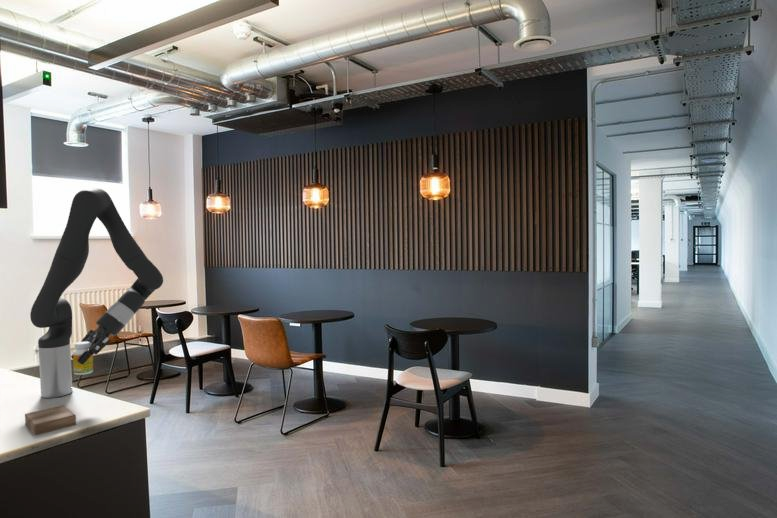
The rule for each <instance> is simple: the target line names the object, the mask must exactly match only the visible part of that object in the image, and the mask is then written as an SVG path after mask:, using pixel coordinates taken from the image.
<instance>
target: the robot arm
mask: <svg viewBox="0 0 777 518" xmlns="http://www.w3.org/2000/svg"><path fill="white" fill-rule="evenodd" d="M96 219H98V220H99V221H100V222H101V224H102V225H103V226H104V227H105V229H106V231H107V233H108V235H109V237H110V241H111V245H112V247H113V248H114V251H115V252H116V254H117V256H118V257H119V259H120V260H121V261H122V262H123V264H124V265H125V267H127V269H129V270H130V271H132V273H134V275H135V276H136V277H137V279H136V280H135V281H134V282H133V283H132V284H131V286H130V287H129V288H128V289H127V290H126V291H125V292H124V293H123V294H122V295H121V296H120V297H119V298H118V299H117V301H115V302H114V303H113V304H112V305H110V307H108V309H107V310H106V311H105V312H104V313H103V314H102V315H101V316H100V317H99V318H98V319H97V320H96V322H95V323H96V325H97V326H98V327H97V328H96V329H95V330H93V329H90V330H89V331H88V332H87V333H86V334H85V336H84V337H83V338H82V339H81V341H80V342H89V347H88V348H87V349H86V351H87V352H86V351H85V352H84V353H83V354H82V355H81V356H80V357H79V358H78V359H77V362H79V363H80V364H84V363H85V362H86V361H87V360H88V359H89V357H90V356H91V355H93V356H94V355H98V354H99V353H100V352H101V351H102V350H103V349H104V348H105V347H106V346H107V345H108V344H109V343H110V342H111V338H109V337H110V336H111V335H112V337H116V336H117V335H119V333H120V332H121V331H122V330H123V329H124V328H125V327H126V325H127V324H128V323H129V322H130V321H131V320H132V318H133V317H134V316H135V314H136V313H137V312H138V311H139V310H140V309H141V308H142V307H143V306H144V304H145V302H146V300H147V299H148V298H149V297H150V296H151V295H152V294H153V293H154V292H155V291H156V290H159V289H160V288H161V287H162V286H163V283H164V277H163V275H162V273H161V271H160V270H159V269H158V267H156V265H155V264H154V263H153V262H152V261H151V260H150V259H149V258H148V257H147V255H146V254H145V253H144V251H143V250H142V248H141V247H140V246H139V244H138V243H137V241H136V240H135V239H134V236H133V235H132V234H131V233H130V231H129V229H128V228H127V226H126V224H125V223H124V220H123V219H122V217H121V215H120V213H119V211H118V210H117V207H116V205H115V203H114V201H113V199H112V198H111V196H110V195H109V193H108V192H106V190H104V189H102V188H98V187H93V188H87V189H83V190H79V191H78V192H77V193H76V194H75V195H74V196H73V199H72V202H71V206H70V210H69V215H68V218H67V223H66V225H65V228H64V230H63V233H62V235H61V238H60V241H59V243H58V246H57V248H56V251H55V253H54V256H53V259H52V262H51V265H50V267H49V270H48V273H47V275H46V277H45V279H44V283H43V285H42V286H41V288H40V290H39V293H38V295H37V297H36V299H35V300H34V302H33V305H32V306H31V309H30V313H29V314H30V321H31V323H32V325H33V326H34V327H37V328H39V329H45V328H48V329H47V331H46V333H45V334H44V335H41V337H39V339H38V340H37V346H38V361H39V362H38V364H39V365H38V366H39V380H40V381H39V382H40V397H41V398H45V399H49V398H51V399H52V398H59V397H64V396H67V395H69V394H71V393H73V377H72V373H73V372H72V371H73V370H72V360H73V354H71V338H72V335H73V311H72V310H73V309H72V306H71V304H70V302H69V301H68V299H65V298H61V297H62V296H63V293H64V292H65V291H66V290H67V289H68V287H69V286H71V285H72V284H73V283H74V282H75V281H76V279H78V278H79V276H80V275H81V274H82V272H83V270H84V268H85V265H86V262H87V259H88V258H89V253H90V242H89V239H90V238H89V237H90V236H89V235H90V233H91V230H92V228H93V226H94V223H95V221H96ZM71 387H72V388H71Z"/></svg>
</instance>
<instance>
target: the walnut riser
mask: <svg viewBox="0 0 777 518" xmlns="http://www.w3.org/2000/svg"><path fill="white" fill-rule="evenodd" d="M76 416H77V414H75V413H74V412H73V411H72V410H70V409H69V407H67V406H66V405H64V404H63V405H59V406H54V407H50V408H45V409H40V410H36V411H32V412H27V413H25V414H24V422H25V425H26V426H27V427H28V428H29V429H30V430H31V432H32V433H33V434H34V435H35V436H37V435H40V434H44V433H45V434H46V433H48V432H52V431H57V430H60V429H64V428H68V427H72V426H76V425H77V418H76Z"/></svg>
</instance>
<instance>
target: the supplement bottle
mask: <svg viewBox="0 0 777 518" xmlns="http://www.w3.org/2000/svg"><path fill="white" fill-rule="evenodd" d="M88 347H89V342H81V341H78V342H76V343H74V348H75V349H74V350H73V351H72V355H73V359H72V361H73V362H72V363H73V364H72V366H73V367H72V370H73V374H74V375H76V376H83V375H89V374H91V373H93V371H94V355H91V356H90V357H89V359H88V360H87V361H86V362H85V363H84V364H80V363H79V362H77V359H78V358H79V357H80V356H81V355H82V354H83V353H84V352H85V351H86V349H87V348H88ZM86 352H87V351H86Z"/></svg>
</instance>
